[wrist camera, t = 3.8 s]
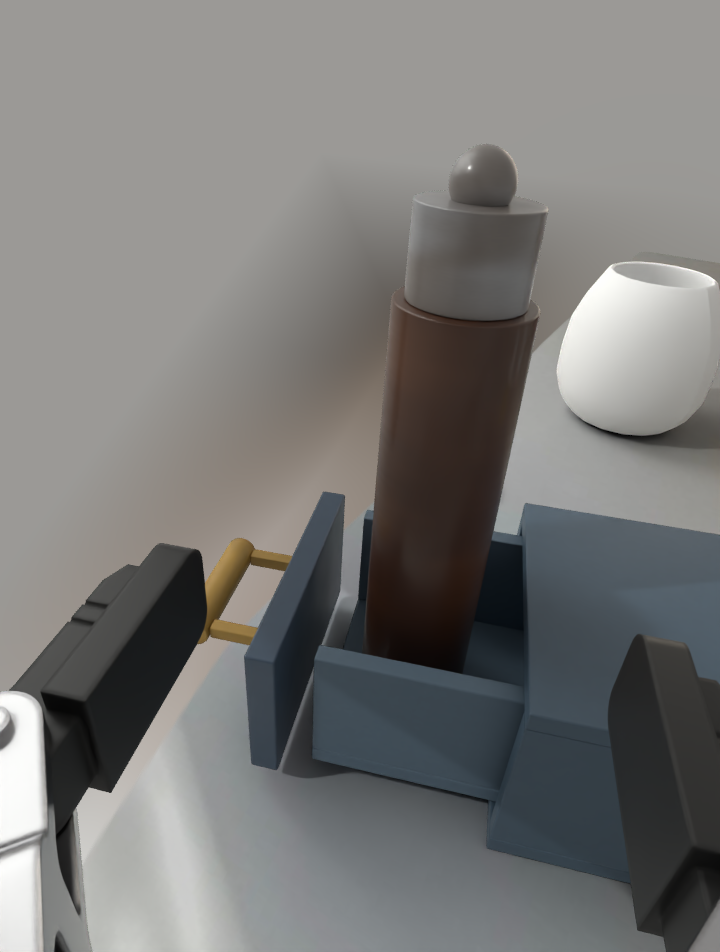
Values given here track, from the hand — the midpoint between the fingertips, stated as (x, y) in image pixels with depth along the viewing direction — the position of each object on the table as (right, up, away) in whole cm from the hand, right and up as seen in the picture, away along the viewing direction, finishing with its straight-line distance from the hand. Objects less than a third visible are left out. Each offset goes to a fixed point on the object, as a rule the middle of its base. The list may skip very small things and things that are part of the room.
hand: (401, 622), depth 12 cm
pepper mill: (+2, -7, +18) cm, 20 cm away
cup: (+24, +8, +48) cm, 54 cm away
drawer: (0, -7, +19) cm, 20 cm away
